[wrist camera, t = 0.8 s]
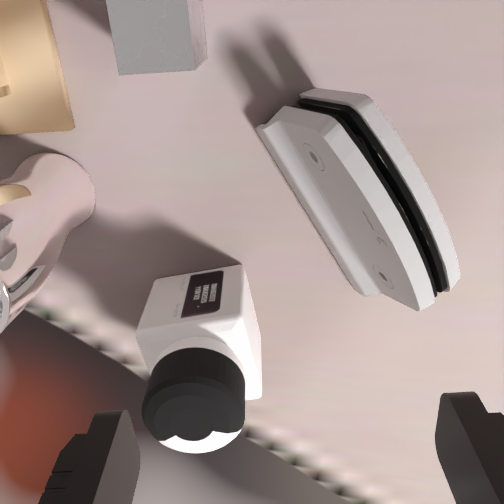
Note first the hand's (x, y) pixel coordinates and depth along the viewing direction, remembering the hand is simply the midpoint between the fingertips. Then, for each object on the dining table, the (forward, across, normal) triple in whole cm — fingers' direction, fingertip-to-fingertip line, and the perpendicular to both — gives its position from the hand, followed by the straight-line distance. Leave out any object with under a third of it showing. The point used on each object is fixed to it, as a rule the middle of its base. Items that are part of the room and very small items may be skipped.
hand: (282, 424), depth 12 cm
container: (+25, +6, +14) cm, 29 cm away
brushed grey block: (+26, +5, -8) cm, 27 cm away
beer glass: (+25, +16, +2) cm, 30 cm away
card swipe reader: (+26, -6, +4) cm, 27 cm away
